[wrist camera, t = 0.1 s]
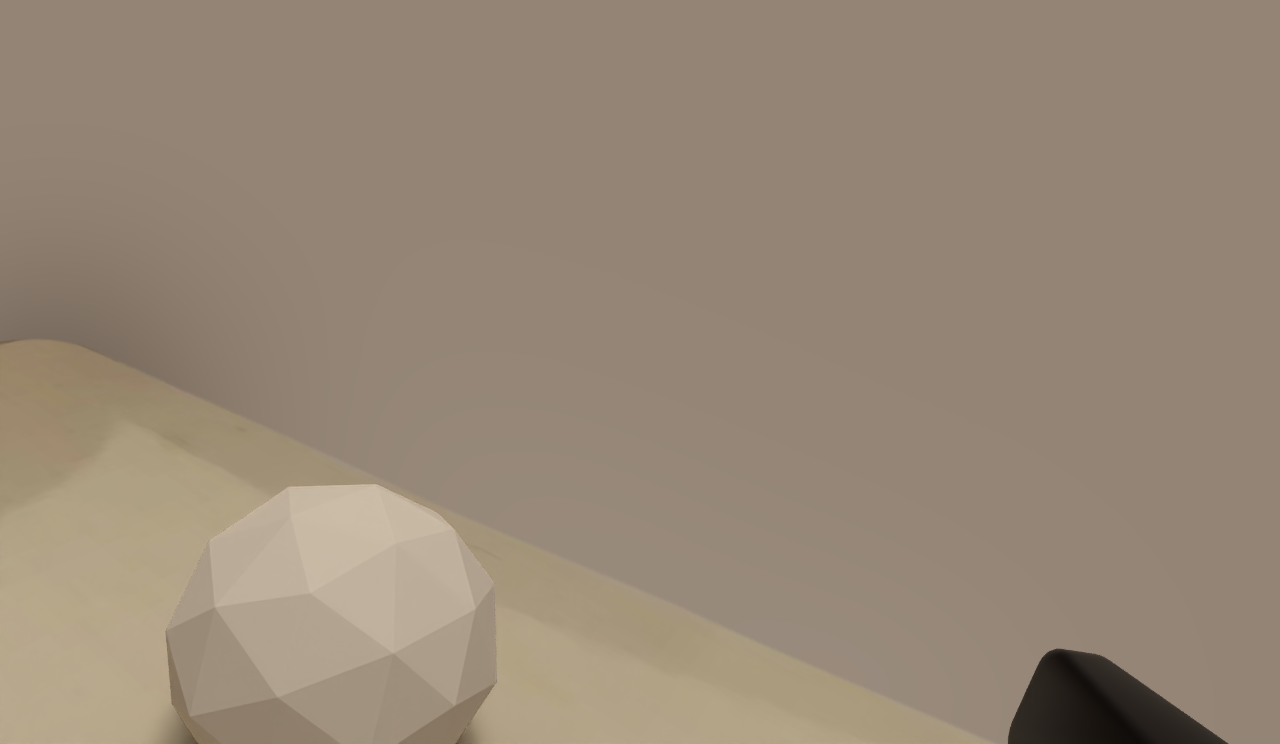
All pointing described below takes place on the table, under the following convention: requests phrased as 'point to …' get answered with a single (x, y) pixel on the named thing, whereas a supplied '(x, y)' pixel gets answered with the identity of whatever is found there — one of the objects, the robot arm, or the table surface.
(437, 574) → the ball
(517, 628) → the table surface
